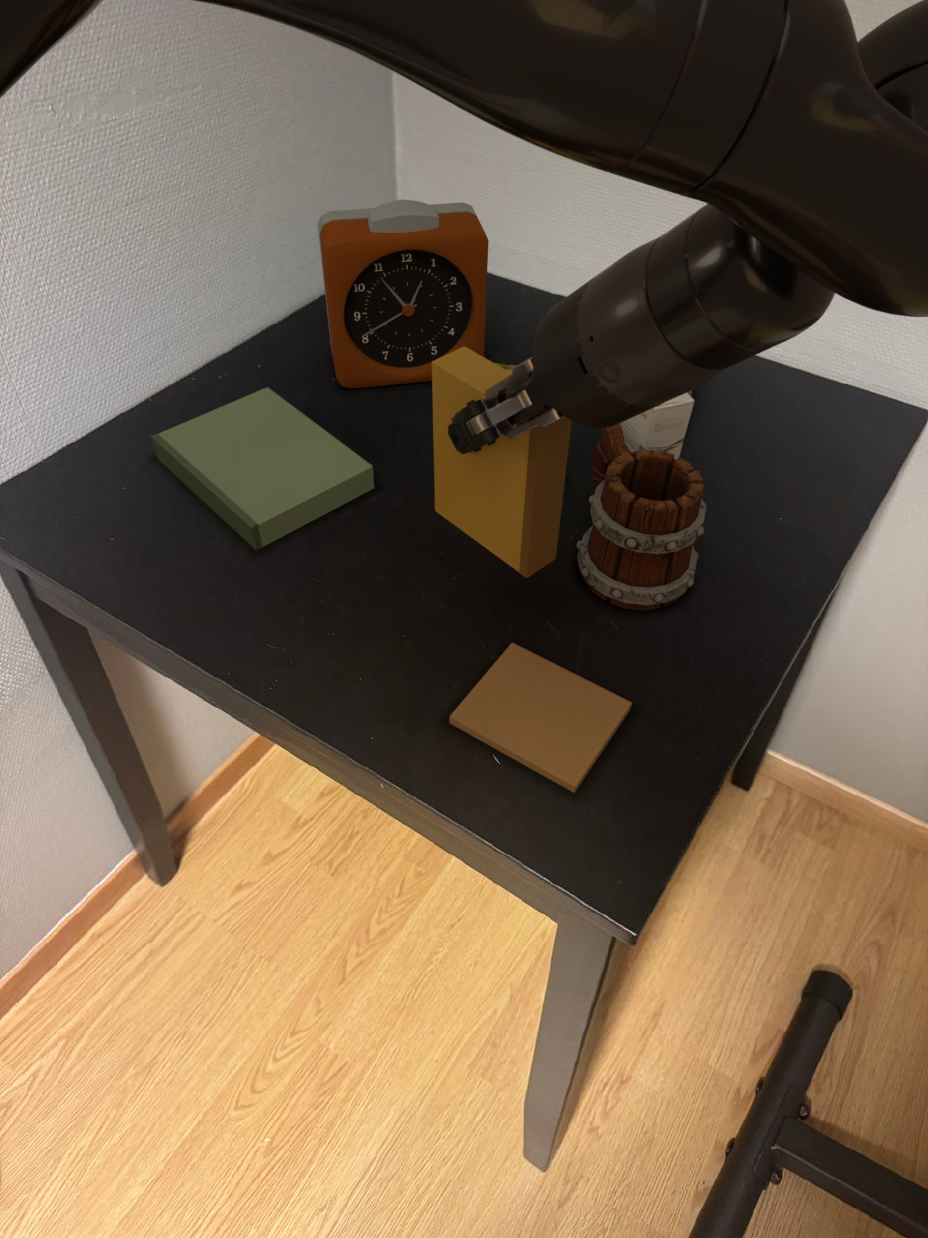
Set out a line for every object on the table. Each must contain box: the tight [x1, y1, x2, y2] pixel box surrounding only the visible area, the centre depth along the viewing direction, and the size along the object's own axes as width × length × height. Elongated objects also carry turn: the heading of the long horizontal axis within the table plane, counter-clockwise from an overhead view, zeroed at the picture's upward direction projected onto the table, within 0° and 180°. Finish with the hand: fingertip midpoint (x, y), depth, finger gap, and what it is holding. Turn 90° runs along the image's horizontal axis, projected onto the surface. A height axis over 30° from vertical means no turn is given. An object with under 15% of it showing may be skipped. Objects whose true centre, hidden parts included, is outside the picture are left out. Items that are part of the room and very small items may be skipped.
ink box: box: [619, 393, 696, 460], centre depth 91 cm, size 9×5×12 cm, turn 22°
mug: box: [576, 424, 707, 612], centre depth 81 cm, size 12×14×15 cm
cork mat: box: [449, 642, 633, 794], centre depth 73 cm, size 12×10×1 cm
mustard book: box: [431, 346, 573, 579], centre depth 61 cm, size 3×10×13 cm, turn 43°
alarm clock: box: [317, 199, 490, 390], centre depth 103 cm, size 18×9×21 cm, turn 101°
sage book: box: [150, 386, 375, 551], centre depth 94 cm, size 15×20×3 cm
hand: (476, 429), depth 60 cm, fingers closed on mustard book, 3 cm apart
